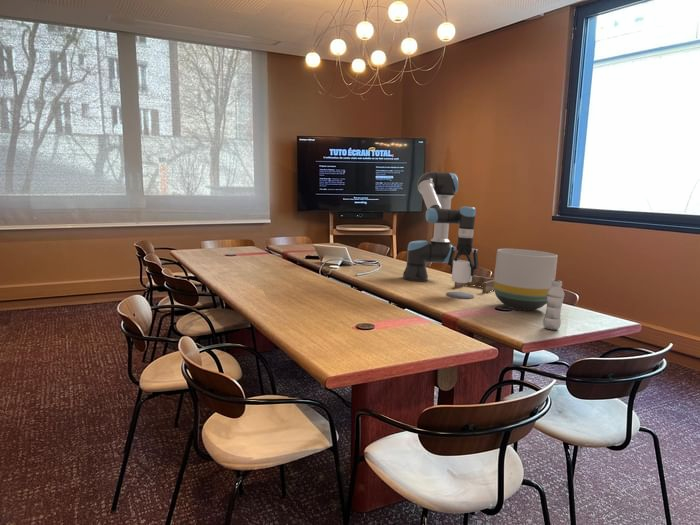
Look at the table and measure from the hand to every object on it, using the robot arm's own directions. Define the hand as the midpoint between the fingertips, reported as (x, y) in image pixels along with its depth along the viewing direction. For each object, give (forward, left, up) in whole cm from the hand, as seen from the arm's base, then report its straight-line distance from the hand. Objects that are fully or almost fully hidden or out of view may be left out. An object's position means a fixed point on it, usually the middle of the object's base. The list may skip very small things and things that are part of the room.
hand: (461, 280), depth 244 cm
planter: (+32, -2, -8) cm, 33 cm away
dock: (-2, +25, -8) cm, 27 cm away
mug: (+1, 0, -1) cm, 1 cm away
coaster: (0, 0, -8) cm, 8 cm away
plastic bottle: (+53, -29, -8) cm, 61 cm away
